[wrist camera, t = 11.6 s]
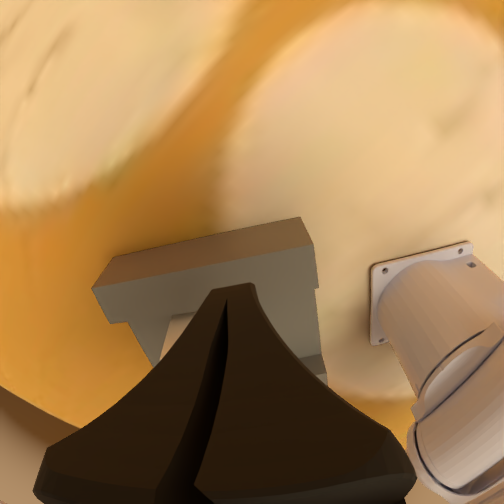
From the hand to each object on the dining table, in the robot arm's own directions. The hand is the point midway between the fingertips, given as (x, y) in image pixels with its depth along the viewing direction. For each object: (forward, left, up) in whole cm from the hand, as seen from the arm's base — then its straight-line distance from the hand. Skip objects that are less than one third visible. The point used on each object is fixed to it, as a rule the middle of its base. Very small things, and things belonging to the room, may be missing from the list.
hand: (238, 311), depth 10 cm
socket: (+3, +8, -10) cm, 13 cm away
